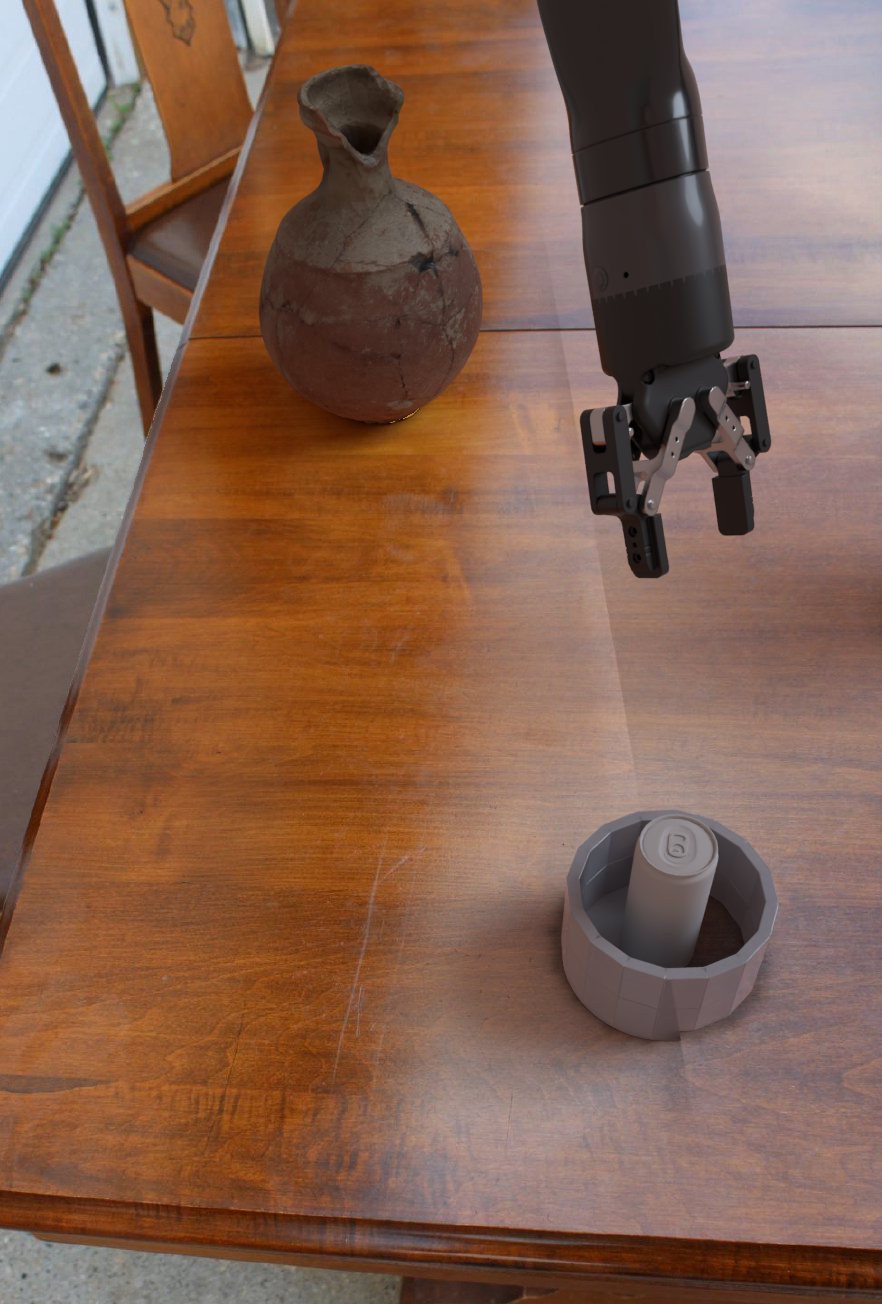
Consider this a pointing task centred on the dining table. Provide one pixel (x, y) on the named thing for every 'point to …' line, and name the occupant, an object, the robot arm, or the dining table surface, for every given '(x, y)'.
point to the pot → (640, 989)
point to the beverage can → (668, 890)
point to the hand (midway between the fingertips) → (695, 554)
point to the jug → (367, 267)
